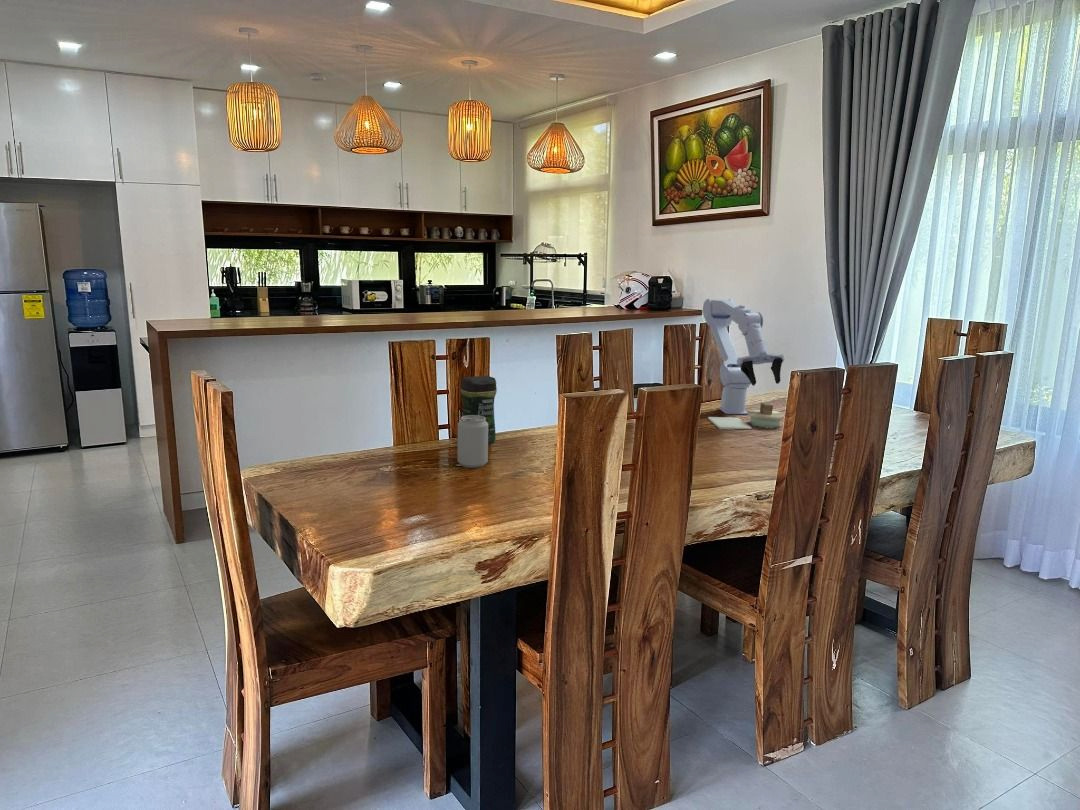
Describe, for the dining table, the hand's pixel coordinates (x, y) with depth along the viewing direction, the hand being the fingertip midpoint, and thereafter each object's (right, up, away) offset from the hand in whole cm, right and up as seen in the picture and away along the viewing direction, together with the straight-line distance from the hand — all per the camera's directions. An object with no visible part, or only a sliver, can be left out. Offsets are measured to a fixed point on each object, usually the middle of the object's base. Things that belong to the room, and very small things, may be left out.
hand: (766, 383), depth 228 cm
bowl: (+1, -13, +5) cm, 14 cm away
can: (-87, -22, -46) cm, 101 cm away
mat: (-10, -13, +5) cm, 17 cm away
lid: (+1, -10, +5) cm, 11 cm away
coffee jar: (-88, -17, -26) cm, 93 cm away
